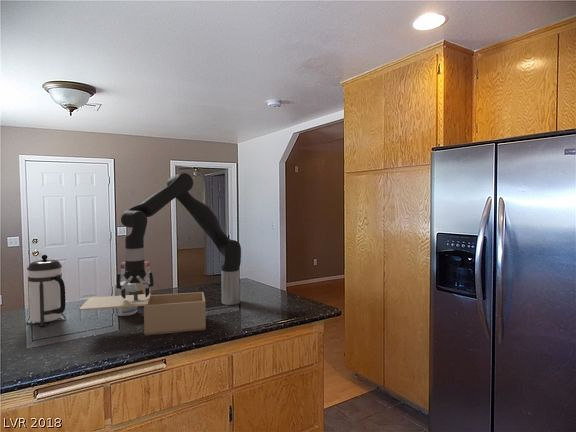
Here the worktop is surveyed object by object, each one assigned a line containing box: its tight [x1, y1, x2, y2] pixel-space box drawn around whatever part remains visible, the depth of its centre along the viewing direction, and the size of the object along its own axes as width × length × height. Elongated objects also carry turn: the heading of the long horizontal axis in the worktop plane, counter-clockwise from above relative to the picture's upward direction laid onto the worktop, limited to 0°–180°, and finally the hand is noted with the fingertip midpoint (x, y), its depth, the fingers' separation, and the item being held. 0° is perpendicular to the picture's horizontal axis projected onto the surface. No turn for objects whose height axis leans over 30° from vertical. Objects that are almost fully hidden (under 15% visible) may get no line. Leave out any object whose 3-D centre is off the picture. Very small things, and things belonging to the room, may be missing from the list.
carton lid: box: [78, 291, 152, 312], centre depth 152 cm, size 24×16×4 cm
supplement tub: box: [114, 281, 138, 317], centre depth 175 cm, size 10×10×15 cm
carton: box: [143, 291, 207, 336], centre depth 159 cm, size 24×16×12 cm, turn 106°
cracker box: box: [120, 260, 152, 295], centre depth 198 cm, size 14×6×21 cm, turn 84°
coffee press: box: [25, 254, 67, 328], centre depth 163 cm, size 17×16×30 cm
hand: (135, 297), depth 154 cm, fingers open, 8 cm apart
